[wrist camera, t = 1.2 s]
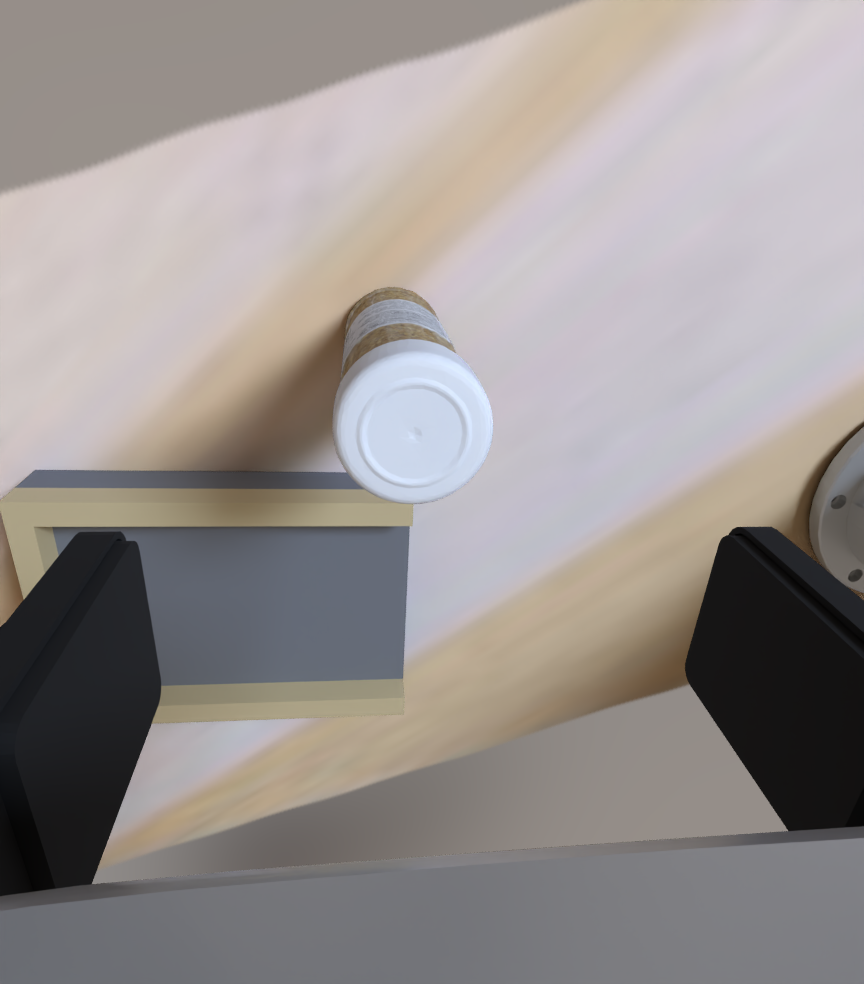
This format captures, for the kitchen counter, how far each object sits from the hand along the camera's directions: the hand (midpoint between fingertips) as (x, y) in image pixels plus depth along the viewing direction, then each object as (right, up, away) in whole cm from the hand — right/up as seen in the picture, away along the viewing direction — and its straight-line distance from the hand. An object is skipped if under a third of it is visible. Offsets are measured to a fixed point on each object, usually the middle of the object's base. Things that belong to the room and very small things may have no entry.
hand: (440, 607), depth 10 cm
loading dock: (-11, -3, +24) cm, 27 cm away
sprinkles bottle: (-2, +9, +19) cm, 22 cm away
